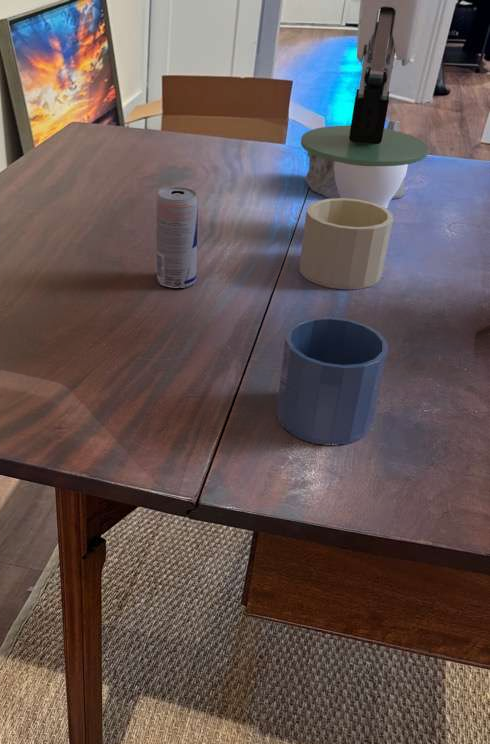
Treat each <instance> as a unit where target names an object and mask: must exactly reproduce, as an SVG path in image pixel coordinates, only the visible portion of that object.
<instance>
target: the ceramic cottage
mask: <svg viewBox="0 0 490 744" xmlns="http://www.w3.org/2000/svg"><path fill="white" fill-rule="evenodd" d="M349 126H351V124H350V125H349ZM386 129H389V130H394V131H398V132H400V121H399V120H397V119H390V120H389V122H388V124H387V126H386ZM307 156H308V158H309V160H308V161H309V162H308V172H307V173H306V176H305V178H304V182H305V183H306V185H307V186H308V187H309V189H310V191H313V192H315V193H316V194H318V195H321V196H323V197H326V198H327V199H333V198H340V194H339V191H338V188H337V185H336V182H335V174H334V162H335V161H332V160H328V159H324V158H321V157H318V156H316V155H313V154H311V153H309V152H308V151H307ZM404 196H405V181H404V180H403V181H402V183H401V185H400V187H399V189H398V190H397V192H396V193H395V194H394V196H393V197H392V199H391V200H395V199H398V198H403V197H404Z"/></svg>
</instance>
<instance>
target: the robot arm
mask: <svg viewBox="0 0 490 744" xmlns="http://www.w3.org/2000/svg"><path fill="white" fill-rule="evenodd" d="M421 3H422V0H360V2H359V12H358V22H357V41H356V59H357V60H358V61H359V62H360V63H361V74H360V80H359V87H358V88H356V92H355V97H354V101H353V102H354V104H353V108H352V109H353V110H352V116H351V123H350V125H351V128H350V135H349V140H350V141H351V142H359V143H370V144H380V143H381V141H382V137H383V131H384V129H385V125H386V120H387V115H388V108H389V103H390V99H389V97H390V91H389V89H390V84H391V78H392V72H393V69H394V61H395V56H396V60H398V61H401V66H402V67H405V66H407V65H408V64H409V63H410V62H411V58H412V51H413V46H414V41H415V35H416V29H417V26H418V25H417V23H418V19H419V15H420V14H419V13H420V8H421ZM365 85H366V86H365ZM364 89H365V91H364ZM382 90H383V91H382ZM381 95H382V97H381ZM363 96H364V97H363Z"/></svg>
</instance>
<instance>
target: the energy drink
mask: <svg viewBox="0 0 490 744" xmlns="http://www.w3.org/2000/svg"><path fill="white" fill-rule="evenodd" d="M155 199H156V200H155V204H156V207H155V208H156V210H155V211H156V217H155V218H156V278H157V279H158V280H157V279H156V280H157V282H158V281H159V282H161V283H162V284H164V285H167V286H171V287H179V288H181V287H187V286H190V287H192V286H193V285H194V284H195V283H196V281H197V264H198V263H197V262H198V261H197V260H198V259H197V258H198V256H197V255H198V225H199V223H198V219H199V199H198V195H197V192H196V191H195V190H194V189H192V188H189V187H183V186H170V187H164V188H161V189H159V190H158V191H157V197H156V198H155ZM159 282H158V283H159ZM192 284H193V285H192ZM191 285H192V286H191Z"/></svg>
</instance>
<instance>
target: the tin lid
mask: <svg viewBox="0 0 490 744" xmlns="http://www.w3.org/2000/svg"><path fill="white" fill-rule="evenodd" d="M365 86H366V84H365ZM364 91H365V89H364ZM382 91H383V90H382ZM363 97H364V96H363ZM381 97H382V95H381ZM350 128H351V126H350V125H330V126H322V127H317V128H313V129H310V130H309V131H305V132H304V133H303V134H302V135H301V139H300V145H301V147H302V148H303V149H304V150H305V151H306V152H307V153H308V152H309V153H311V154H313V155H316V156H318V157H321V158H324V159H328V160H332V161H336V162H341V163H346V164H351V165H359V166H399V165H406V164H408V165H411V164H415V163H418V162H421V161H423V160H424V159H426V158H427V156H428V154H429V149H430V148H429V145H428V144H427V143H426V142H425V141H424V140H422V139H421V138H419V137H416V136H413V135H411V134H408V133H405V132H402V131H399V132H398V131H394V130H389V129H387V128H384V131H383V137H382V141H381V143H380V144H370V143H359V142H351V141H350V140H349V135H350Z"/></svg>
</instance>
